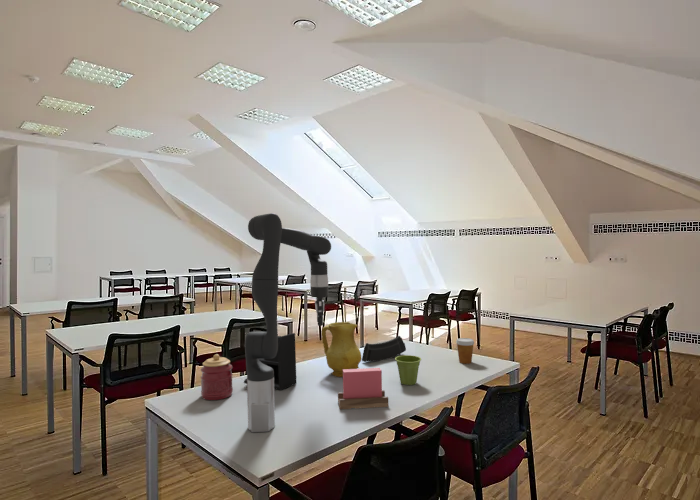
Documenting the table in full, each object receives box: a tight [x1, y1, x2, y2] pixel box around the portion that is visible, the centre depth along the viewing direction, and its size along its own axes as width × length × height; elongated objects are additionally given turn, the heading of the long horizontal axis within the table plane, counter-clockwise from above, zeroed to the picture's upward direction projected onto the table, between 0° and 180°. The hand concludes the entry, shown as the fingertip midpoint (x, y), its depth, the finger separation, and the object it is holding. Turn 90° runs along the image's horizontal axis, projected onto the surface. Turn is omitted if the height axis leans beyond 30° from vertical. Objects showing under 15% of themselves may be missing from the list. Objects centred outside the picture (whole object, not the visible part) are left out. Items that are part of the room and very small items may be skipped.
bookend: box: [243, 332, 297, 391], centre depth 203 cm, size 23×11×24 cm, turn 56°
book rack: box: [337, 389, 389, 410], centre depth 175 cm, size 9×19×4 cm, turn 96°
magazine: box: [361, 335, 407, 363], centre depth 244 cm, size 17×3×30 cm
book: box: [342, 367, 383, 399], centre depth 175 cm, size 4×15×12 cm, turn 96°
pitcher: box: [321, 321, 362, 378], centre depth 219 cm, size 17×19×25 cm
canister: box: [200, 353, 234, 401], centre depth 188 cm, size 13×13×18 cm
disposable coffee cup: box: [455, 337, 475, 365], centre depth 234 cm, size 10×10×12 cm
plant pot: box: [394, 354, 422, 386], centre depth 201 cm, size 12×12×11 cm
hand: (320, 323), depth 186 cm, fingers open, 8 cm apart
